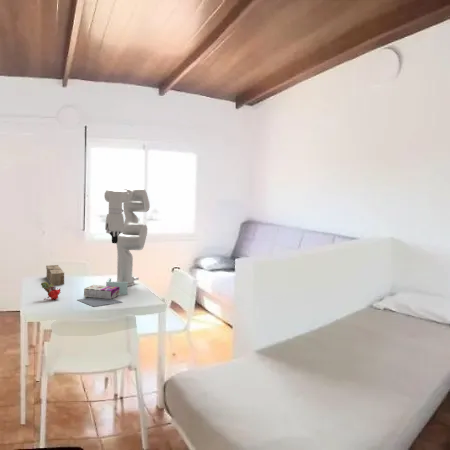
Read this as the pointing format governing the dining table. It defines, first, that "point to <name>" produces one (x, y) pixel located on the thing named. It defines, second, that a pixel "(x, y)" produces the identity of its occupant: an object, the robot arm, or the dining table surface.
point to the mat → (98, 301)
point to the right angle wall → (118, 285)
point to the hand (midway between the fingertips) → (114, 243)
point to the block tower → (55, 274)
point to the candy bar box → (101, 291)
